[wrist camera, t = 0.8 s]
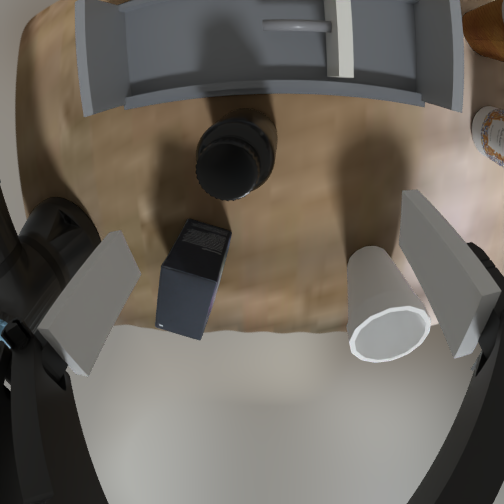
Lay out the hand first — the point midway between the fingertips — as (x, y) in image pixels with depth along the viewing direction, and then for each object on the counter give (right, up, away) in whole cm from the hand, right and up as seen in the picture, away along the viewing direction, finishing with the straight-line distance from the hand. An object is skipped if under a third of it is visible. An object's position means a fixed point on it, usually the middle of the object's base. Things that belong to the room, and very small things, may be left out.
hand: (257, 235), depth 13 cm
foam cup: (+16, -2, +26) cm, 30 cm away
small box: (-7, -1, +28) cm, 29 cm away
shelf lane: (+2, +22, +11) cm, 24 cm away
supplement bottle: (-1, +12, +18) cm, 22 cm away
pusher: (+5, +21, +9) cm, 23 cm away
